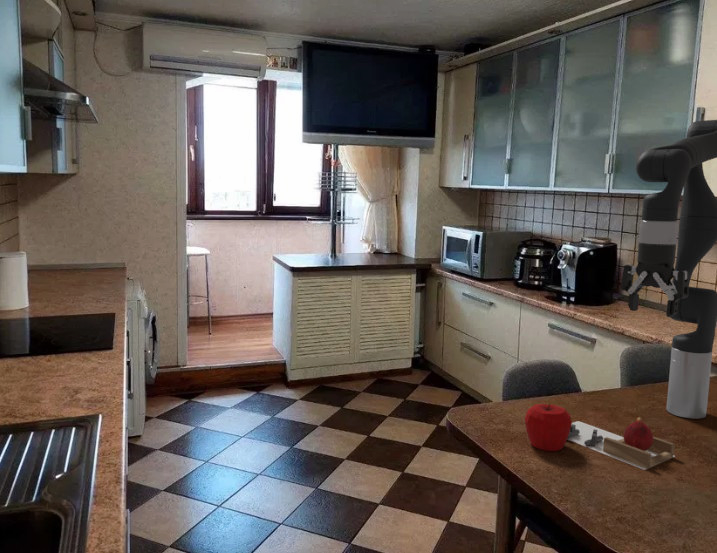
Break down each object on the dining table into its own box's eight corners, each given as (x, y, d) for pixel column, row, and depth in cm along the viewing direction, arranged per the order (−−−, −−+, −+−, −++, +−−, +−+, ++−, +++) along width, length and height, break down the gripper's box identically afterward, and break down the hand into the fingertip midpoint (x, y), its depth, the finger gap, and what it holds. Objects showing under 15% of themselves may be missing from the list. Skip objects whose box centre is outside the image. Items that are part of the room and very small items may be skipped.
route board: (578, 425, 150) (579, 411, 149) (675, 461, 130) (676, 445, 130) (540, 438, 142) (541, 423, 141) (638, 478, 122) (639, 461, 122)
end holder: (629, 441, 138) (630, 428, 137) (673, 457, 129) (674, 443, 129) (603, 451, 132) (604, 438, 131) (647, 468, 124) (648, 454, 123)
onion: (655, 460, 127) (658, 424, 126) (625, 458, 129) (628, 421, 127) (647, 449, 133) (650, 414, 132) (619, 447, 134) (622, 412, 133)
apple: (569, 445, 138) (572, 399, 136) (569, 462, 129) (573, 413, 127) (524, 439, 141) (527, 393, 139) (521, 455, 132) (524, 407, 130)
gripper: (699, 243, 131) (692, 317, 133) (636, 238, 142) (631, 307, 144) (680, 244, 126) (674, 321, 129) (618, 239, 138) (612, 310, 140)
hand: (651, 313), depth 136 cm, fingers open, 8 cm apart
